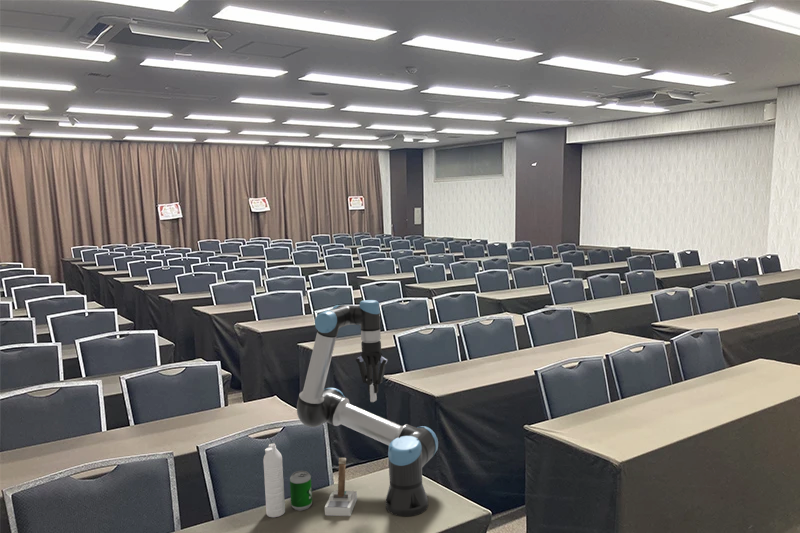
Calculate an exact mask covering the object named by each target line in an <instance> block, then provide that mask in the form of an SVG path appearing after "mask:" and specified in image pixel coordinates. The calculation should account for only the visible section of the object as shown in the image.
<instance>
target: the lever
mask: <svg viewBox="0 0 800 533" xmlns="http://www.w3.org/2000/svg"><path fill="white" fill-rule="evenodd" d="M346 465H347V458H346V457H338V479H337V480H338V481H337V490H338V494H334V498H348V495H344V493H345V491H346V490H345V489H346V488H345V487H346V467H347V466H346Z"/></svg>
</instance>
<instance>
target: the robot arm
mask: <svg viewBox="0 0 800 533" xmlns="http://www.w3.org/2000/svg"><path fill="white" fill-rule="evenodd" d="M380 314H381V311H380V302H379V301H378V300H375V299H365V300H361V301H360V302H359V305H351V304H350V305H347V304H346V305H345V304H337V305H334V306H333V307H332V308H331V309H329V310H325V311H322V312H320V313H318V314H317V315H316V317H315V319H314V327H315V329H316V330H317V332H316V336H315V339H314V344H313V347H312V352H311V356H310V359H309V360H310V361H309V365H308V368H307V373H306V377H305V380H304V385H303V389H302V391H300V392H299V394H298V398H297V404H296V414H297V417H298V420H299V421H300V422H301V424H302V425H304V426H306V427H307V428H308V427H309V428H317V427H319V426H321V425H323V424H324V423H325V424H326V423H328V424H330V425H331V426H334V427H338V426H340V425H342V426H344V427H346V428H349V429H351V430H353V431H356V432H358V433H360V434H362V435H365V436H366V437H369V438H371V439H374V440H375V441H378V442H380V443H382V444H384V445H386V446H388V450H387V451H388V452H387V456H388V472H389V473H388V476H389V477H388V478H389V479H388V480H389V485H388V490H387V494H386V497H385V508H386V511H388V512H389V513H390V514H392V515H394V516H399V517H412V516H417V515H420V514H422V513H424V512H425V511H427V509H428V507H429V501H428V500H429V499H428V494H427V493H426V490H425V488H424V484H423V468H424V467H425V465H426V464H427V463H428V462H429V461H431V459H433V458H434V456H435V454H436V452H437V451H438V449H439V448H438V447H439V441H438V440H439V439H438V437H437V435H436V433H435V432H434V431H433V429H431V428H430V427H428V426H425V425H424V426H423V425H422V426H417V427H416V426H412V425H410V424H408V423H406V424H404V425H400V424H399V423H396V422H395V421H391V420H389V419H386V418H384V417H382V416H379V415H376V414H374V413H372V412H370V411H369V410H368V411H367V410H365V409H364V408H361V407H358V406H356V405H353V404H351V403H350V400H349V398H348V397H346V395H344V393H343V392H342V391H341V390H340V389H338V388H335V387H327V388H325V386H326V382H327V378H328V374H329V370H330V365H331V361H332V357H333V355H334V353H333V352H334V348H335V345H336V340H337V337H338V333H339V329H341V328H343V327H346V326H350V325H351V326H360V340H361V354H360V356H359V357H357V358H355V361H356V363H357V364H358V368H359V372H360V377H361V379H362V382H363V384H364V383H365V384H367V392H368V393H369V400H370V403H374V402H376V401H377V400H378V399H377V398H378V397H377V394H378V393H379V385H380V384H382V383H383V381H384V377H385V371H386V366H387V363H388V361H389V359H388V358H385V357H384V356H383V354H382V341H381V339H382V338H381V337H382V336H381V315H380ZM379 363H380V367H379Z"/></svg>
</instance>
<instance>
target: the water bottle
mask: <svg viewBox="0 0 800 533" xmlns="http://www.w3.org/2000/svg"><path fill="white" fill-rule="evenodd" d="M264 452H265V454H264V456H263V461H262V462H263V472H264V473H263V474H264V476H263V477H264V491H265V492H264V493H265V494H264V495H265V496H264V497H265V510H266V512H265V513H266V516H267V517H269V518H276V517H282V516H283V515H284V514H285V513H286V504H285V502H286V500H285V487H284V486H285V483H284V472H283V471H284V468H283V456H282V453H281V452H280V451H279V450H278V449H277V445H276V443H274V442H273V443H269V444H268V447H266V448H265V449H264Z"/></svg>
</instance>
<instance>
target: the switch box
mask: <svg viewBox="0 0 800 533" xmlns="http://www.w3.org/2000/svg"><path fill="white" fill-rule="evenodd" d="M334 494H338V489H337V490H333V491H332V492H331V493H330V495H329V498H328V500H327V501H326V503H325V506H324V516H332V517H333V516H335V517H336V516H338V517H339V516H340V517H351V515H352V513H353V510H354V508H355V506H356V503H357V500H358V491H356V490H345V493H344V495H348V498H334Z"/></svg>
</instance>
